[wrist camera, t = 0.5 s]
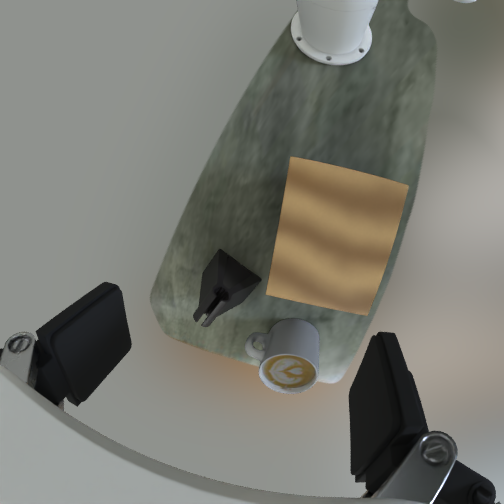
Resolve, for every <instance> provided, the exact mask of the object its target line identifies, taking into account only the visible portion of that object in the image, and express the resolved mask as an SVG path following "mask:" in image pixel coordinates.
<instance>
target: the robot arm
mask: <svg viewBox="0 0 504 504" xmlns="http://www.w3.org/2000/svg"><path fill="white" fill-rule="evenodd" d="M296 1H297V7H298V12H297V13H296V14H295V15H294V17H293V19H292V23H291V33H292V37H293V40H294V42H295V44H296V45H297V47H298V48H299V49H300V50H301V51H302V52H303V53H304V54H306V55H307V56H308V57H310V58H312V59H314V60H316V61H318V62H321V63H325V64H329V65H347V64H351V63H354V62H356V61H358V60H360V59H361V58H362V57H364V56H365V54H366V53H367V52H368V50H369V48H370V46H371V43H372V34H371V30H370V27H369V25H368V24H369V22H370V20H371V17H372V15H373V12H374V10H375V8H376V5H377V3H378V0H296ZM453 1H457V2H461V3H470V2H474V1H476V0H453ZM298 40H301V41H298ZM359 51H361V52H362V53H360V52H359ZM327 59H330V61H328V60H327ZM36 333H37V336H38V340H37V341H36V340H35V338H34V336H33V335H32V334H31V333H29V332H19V333H16V334H14V335H13V336H11V337H10V338H9V339H8V340H7V341H6V343H5V346H4V348H3V349H0V504H495V503H494V501H495V498H496V491H495V487H494V485H493V484H492V482H491V481H489V480H488V479H486V478H485V477H483V476H481V475H480V474H478V473H476V472H475V471H473V470H471V469H470V468H468V467H467V466H465V465H464V464H462V463H460V462H459V461H457V460H456V457H457V446H456V443H455V442H454V440H453V439H452V437H450V436H449V435H448V434H446V433H444V432H441V431H431V432H429V430H428V426H427V423H426V419H425V415H424V411H423V408H422V404H421V401H420V398H419V395H418V391H417V388H416V385H415V381H414V379H413V375H412V373H411V372H410V371H408V368H407V365H406V362H405V359H404V357H403V354H402V351H401V348H400V345H399V342H398V340H397V337H396V335H395V333H389V332H378V333H377V335H376V336H375V335H373V336H372V338H371V340H370V342H369V345H368V347H367V350H366V353H365V355H364V358H363V360H362V363H361V365H360V367H359V370H358V372H357V375H356V377H355V379H354V382H353V384H352V386H351V388H350V392H349V412H350V438H351V439H350V440H351V474H352V475H355V482H366V489H367V491H366V492H365V493H364V494H363V495H362V496H361V497H360V498H343V497H315V496H301V495H292V494H284V493H277V492H270V491H264V490H258V489H252V488H246V487H242V486H237V485H233V484H229V483H224V482H220V481H217V480H213V479H209V478H206V477H202V476H199V475H196V474H193V473H190V472H187V471H184V470H181V469H178V468H175V467H172V466H170V465H167V464H164V463H162V462H159V461H157V460H154V459H152V458H149V457H147V456H145V455H142V454H140V453H138V452H136V451H133V450H131V449H129V448H127V447H125V446H123V445H121V444H119V443H117V442H115V441H113V440H111V439H109V438H107V437H106V436H104V435H102V434H100V433H98V432H97V431H95V430H93V429H91V428H90V427H88V426H86V425H85V424H83V423H81V422H80V421H78V420H77V419H75V418H73V417H72V416H70V415H69V414H67V413H66V412H64V400H63V399H64V398H65V397H67V399H68V401H69V402H71V403H73V404H74V405H76V406H78V405H79V404H80V403H81V402H83V401H85V400H86V399H87V398H88V397H89V396H90V395H91V394H92V393H93V391H94V390H95V389H96V388H97V387H98V386H99V385H100V383H101V382H102V381H103V380H104V379H105V378H106V377H107V375H108V374H109V373H110V372H111V371H112V370H113V369H114V367H115V366H116V365H117V364H118V363H119V362H120V361H121V360H122V358H123V357H124V356H125V355H126V354H127V353H128V352H129V350H130V349H131V345H132V344H131V338H130V333H129V328H128V323H127V318H126V313H125V307H124V301H123V296H122V291H121V290H120V288H119V286H117V285H116V284H112V283H108V282H104V283H102V284H100V285H99V286H97V287H96V288H95V289H93V290H92V291H90V292H89V293H87V294H86V295H84V296H83V297H82V298H81V299H79V300H78V301H76V302H75V303H73V304H72V305H70V306H69V307H68V308H66V309H65V310H64V311H62V312H61V313H59V314H58V315H57V316H55V317H54V318H53V319H51V320H50V321H49V322H47V323H46V324H45V325H43V326H42V327H41V328H39V329H38V330H37V331H36ZM496 504H501V503H500V502H498V503H496Z"/></svg>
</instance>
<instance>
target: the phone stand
mask: <svg viewBox="0 0 504 504" xmlns="http://www.w3.org/2000/svg"><path fill="white" fill-rule="evenodd" d="M260 281H261V279H260V278H259V277H258V276H256V275H255V274H254V273H252V272H251V271H250V270H248V269H247V268H246V267H244V266H243V265H241V264H240V263H239V262H237V261H236V260H235V259H233V258H232V257H231V256H229V255H228V254H227V253H225V252H224V251H223V250H221V249H219V250H218V252H217V253H216V254H215V256H214V257H213V259H212V260H211V262H210V263H209V265H208V266H207V268H206V269H205V271H204V272H203V274H202V283H201V291H200V299H199V307H198V308H197V310H196V311H195V313H194V315H193V317H194V320H195V321H196V322H197V321H198V320H199V319H200V317H201V316H202V315H203V314H205V313H206V315H207V316H208V317H207V318H206V319H205V321H204V322H203V323H202V325H201V326H203V327H208V326H210V324H211V323H212V322H213V321H214V320H215V318H216V317H217V316H219V315H221V314H223V313H224V312H226V311H228V310H230V309H232V308H233V307H235V306H237V305H239V304H241V303H242V302H243V301H244V300H245V299H246V298H247V297H248V295H249V294H250V293H251V292H252V291H253V290H254V288H255V287H256V286H257V285H258V284H259V282H260Z"/></svg>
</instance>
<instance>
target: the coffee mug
mask: <svg viewBox="0 0 504 504" xmlns="http://www.w3.org/2000/svg"><path fill="white" fill-rule="evenodd" d="M255 341H257V342H260V343H261V344H262V346H263V350H257V349H256V348H255V347H254V346H253V342H255ZM319 341H320V338H319V333H318V331H317V330H316V328H315V327H314V326H313V325H312V324H310V323H309V322H307V321H304V320H301V319H295V318H291V319H285V320H282V321H280V322H278V323H276V324H275V325H274V326H273V327H272V328H271V330H270V332H269V334H265V333H258V332H255V333H252V334H251V335H250V336H249V337H248V338H247V340H246V344H245V350H246V352H247V354H248V355H250V356H251V357H253V358H255V359H257V360H259V361H260V367H259V377H260V379H261V381H262V382H263V383H264V384H265V385H266V386H267V387H269V388H270V389H272V390H274V391H277V392H280V393H286V394H294V393H301V392H304V391H306V390H308V389H310V388H311V387H312V386H313V385H314V384H315V383H316V381H317V378H318V369H319Z"/></svg>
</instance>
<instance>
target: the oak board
mask: <svg viewBox="0 0 504 504" xmlns="http://www.w3.org/2000/svg"><path fill="white" fill-rule="evenodd" d="M407 191H408V185H406V184H403V183H400V182H396V181H393V180H390V179H386V178H383V177H379V176H376V175H372V174H368V173H364V172H361V171H357V170H353V169H349V168H344V167H340V166H336V165H331V164H327V163H322V162H318V161H313V160H308V159H303V158H298V157H292V156H291V157H290V162H289V168H288V174H287V180H286V185H285V191H284V197H283V203H282V208H281V214H280V220H279V225H278V231H277V236H276V242H275V247H274V252H273V258H272V263H271V268H270V274H269V279H268V284H267V289H266V295H270V296H274V297H279V298H283V299H288V300H292V301H297V302H301V303H306V304H311V305H315V306H320V307H325V308H330V309H335V310H340V311H345V312H350V313H355V314H361V315H366V316H367V315H368V313H369V311H370V308H371V306H372V303H373V301H374V298H375V295H376V293H377V290H378V287H379V285H380V282H381V279H382V276H383V274H384V271H385V268H386V265H387V262H388V259H389V256H390V253H391V249H392V246H393V243H394V240H395V236H396V233H397V229H398V226H399V222H400V219H401V215H402V211H403V207H404V203H405V199H406V195H407Z"/></svg>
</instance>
